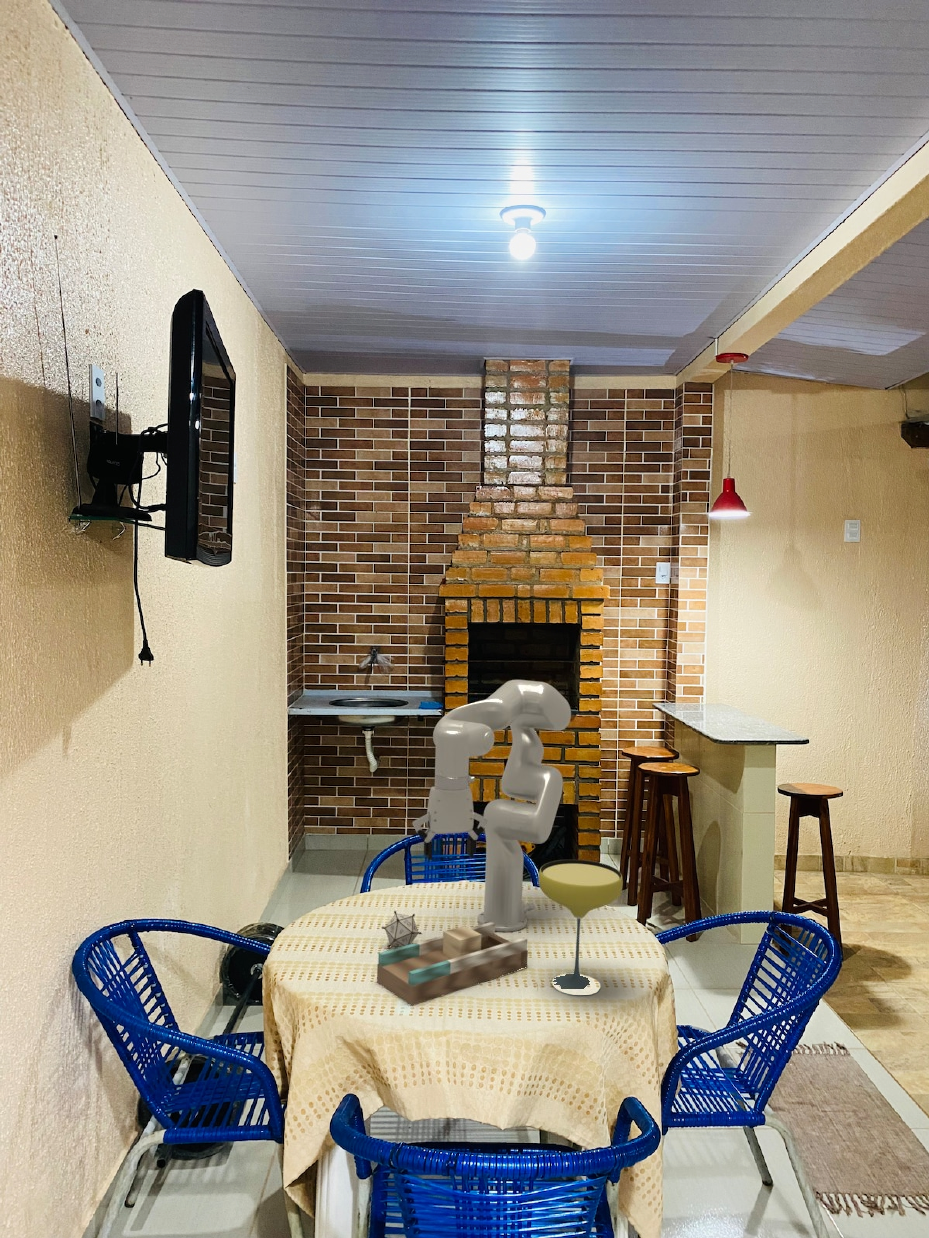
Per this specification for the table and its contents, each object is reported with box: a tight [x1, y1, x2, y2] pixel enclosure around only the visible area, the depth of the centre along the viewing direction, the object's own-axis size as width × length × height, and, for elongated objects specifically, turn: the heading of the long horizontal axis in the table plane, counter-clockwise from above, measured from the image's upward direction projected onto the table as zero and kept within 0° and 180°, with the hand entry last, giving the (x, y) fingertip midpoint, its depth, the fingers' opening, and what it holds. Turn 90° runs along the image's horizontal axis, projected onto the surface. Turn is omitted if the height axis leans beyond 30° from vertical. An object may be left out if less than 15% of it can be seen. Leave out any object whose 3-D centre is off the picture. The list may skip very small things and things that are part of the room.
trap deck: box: [376, 922, 529, 1006], centre depth 203 cm, size 32×13×6 cm, turn 129°
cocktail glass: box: [538, 859, 624, 989], centre depth 199 cm, size 18×18×25 cm
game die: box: [380, 910, 423, 949], centre depth 217 cm, size 9×8×10 cm
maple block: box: [442, 925, 481, 959], centre depth 204 cm, size 6×6×5 cm
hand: (449, 856), depth 207 cm, fingers open, 9 cm apart
